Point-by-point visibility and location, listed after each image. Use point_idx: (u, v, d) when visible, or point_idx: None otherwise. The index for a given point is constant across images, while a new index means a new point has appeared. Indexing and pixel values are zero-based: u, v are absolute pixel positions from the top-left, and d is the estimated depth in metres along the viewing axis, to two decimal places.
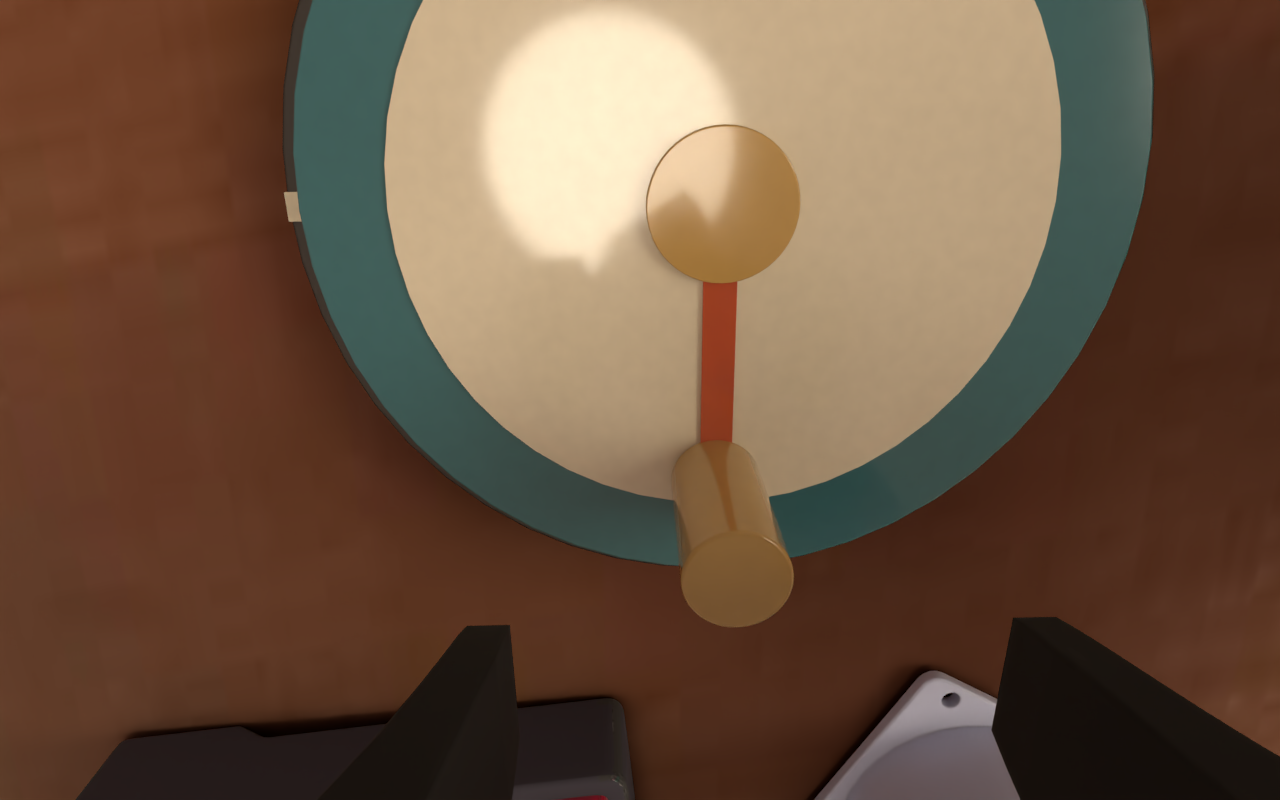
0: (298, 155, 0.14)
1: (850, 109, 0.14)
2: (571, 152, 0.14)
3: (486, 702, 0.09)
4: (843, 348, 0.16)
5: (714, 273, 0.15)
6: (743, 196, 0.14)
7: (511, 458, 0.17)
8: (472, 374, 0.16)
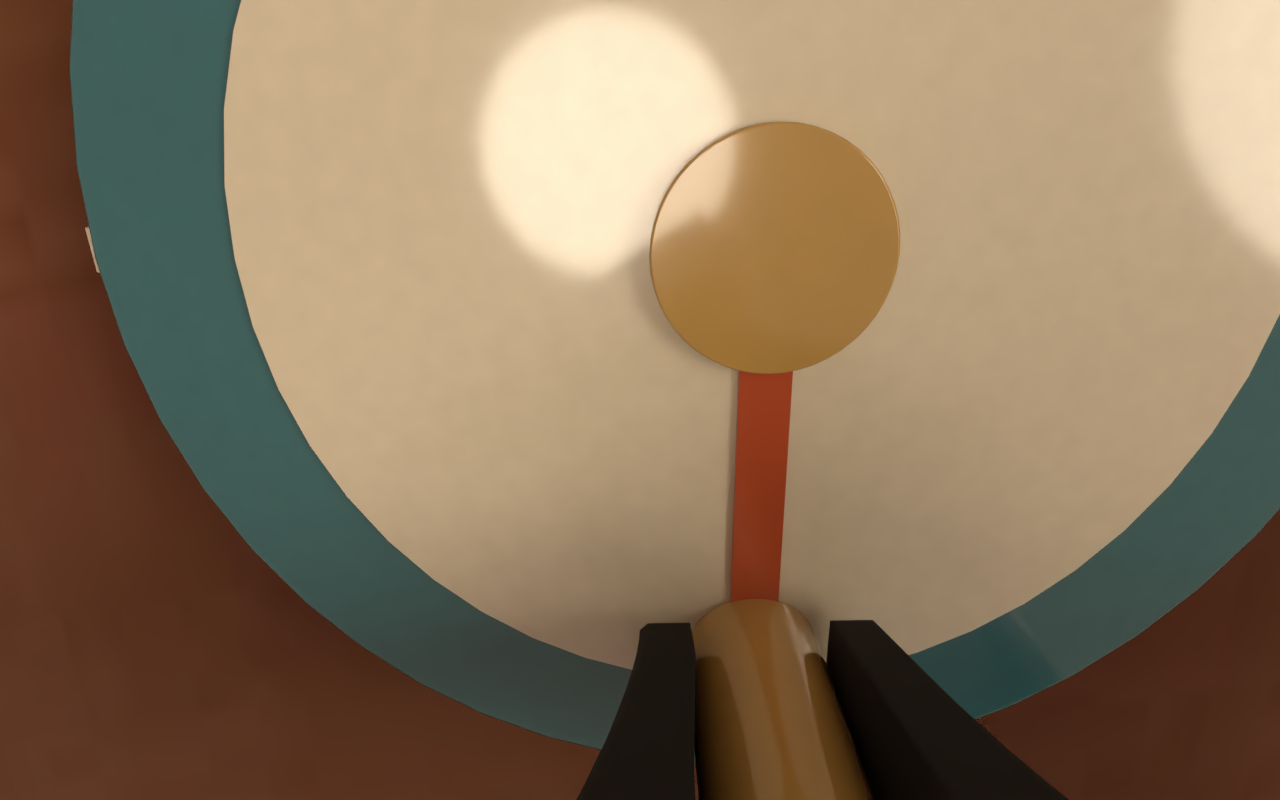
0: (85, 171, 0.09)
1: (984, 99, 0.09)
2: (529, 167, 0.09)
3: None
4: (950, 465, 0.10)
5: (758, 359, 0.09)
6: (808, 239, 0.09)
7: (447, 621, 0.11)
8: (383, 503, 0.10)
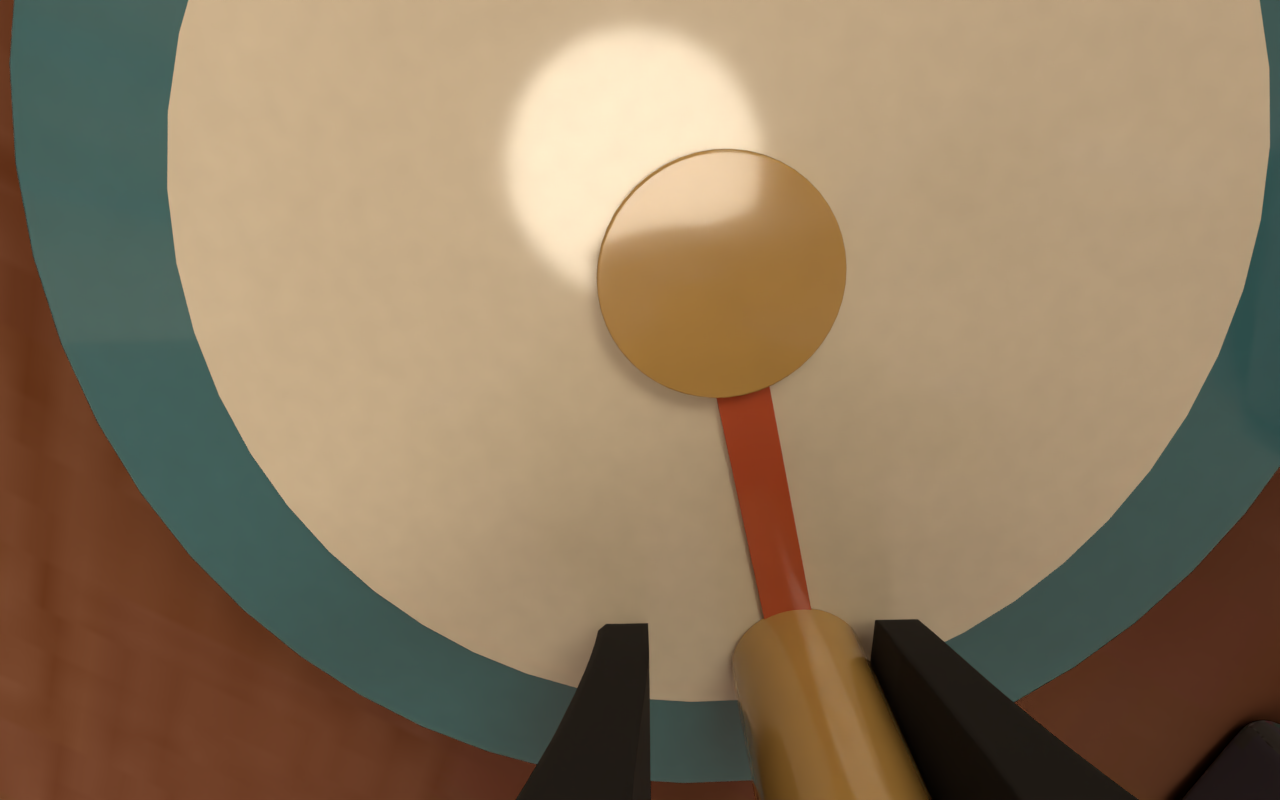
0: (69, 346, 0.09)
1: (896, 79, 0.08)
2: (469, 248, 0.09)
3: (646, 700, 0.09)
4: (953, 442, 0.10)
5: (732, 383, 0.09)
6: (750, 258, 0.09)
7: (497, 687, 0.11)
8: (410, 590, 0.11)
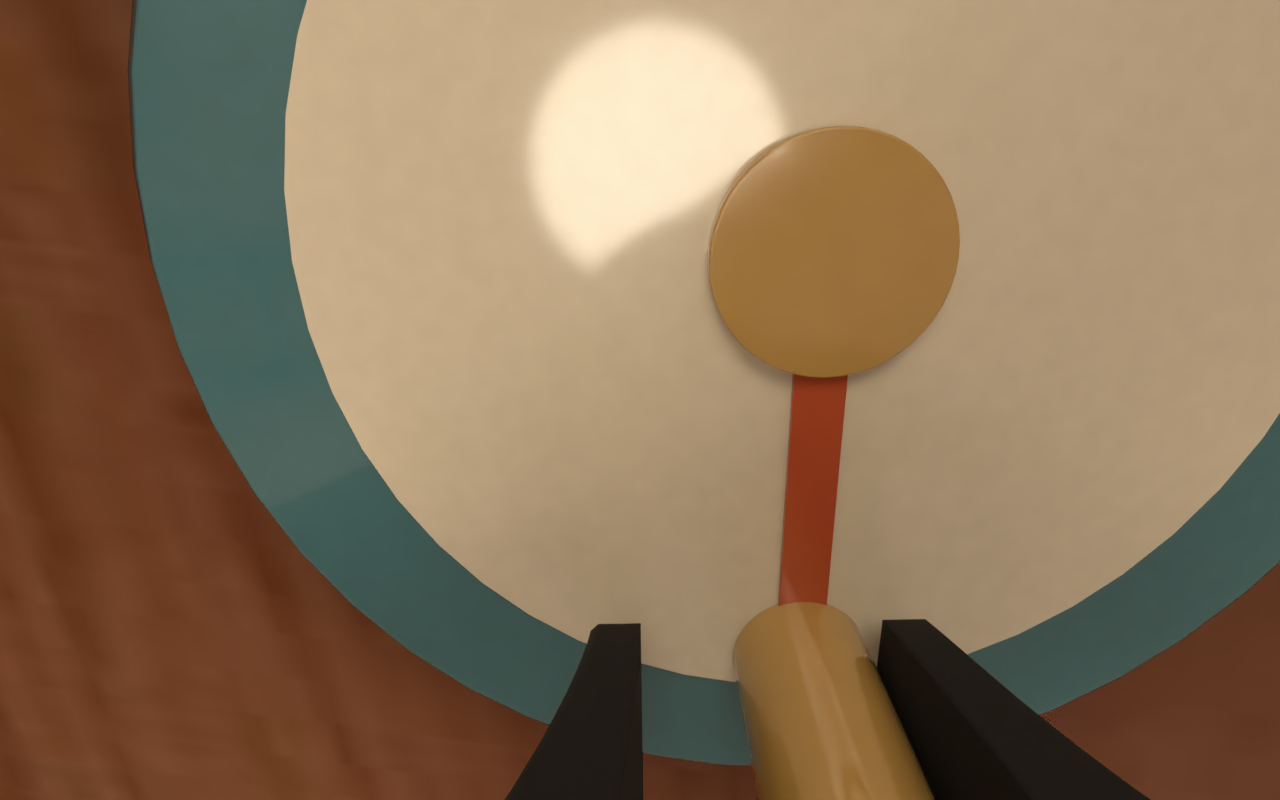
0: (144, 175, 0.09)
1: (1045, 103, 0.09)
2: (589, 171, 0.09)
3: (637, 700, 0.09)
4: (1001, 469, 0.10)
5: (816, 363, 0.09)
6: (868, 243, 0.09)
7: (494, 624, 0.11)
8: (433, 507, 0.10)
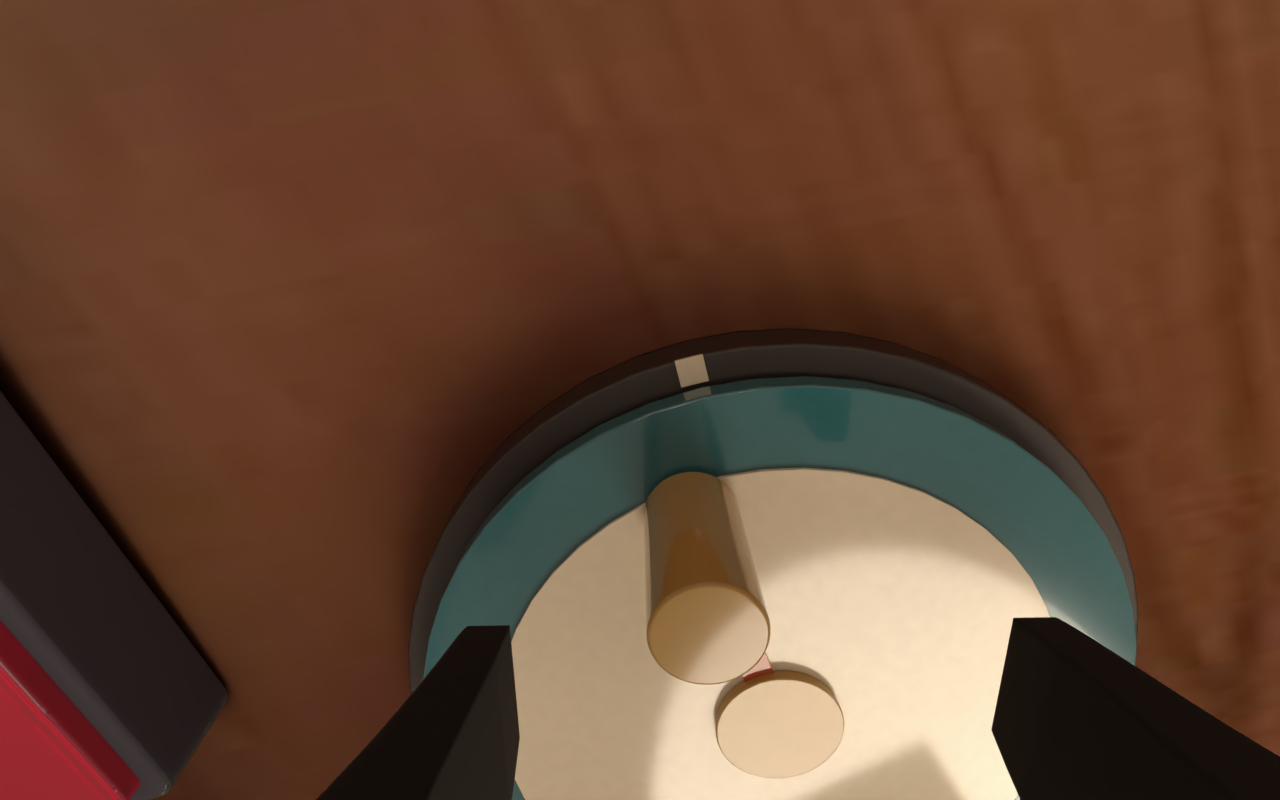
0: (1132, 647, 0.17)
1: (705, 795, 0.18)
2: (906, 713, 0.18)
3: (486, 702, 0.09)
4: (626, 655, 0.17)
5: (768, 687, 0.17)
6: (767, 741, 0.17)
7: (907, 459, 0.15)
8: (961, 528, 0.16)
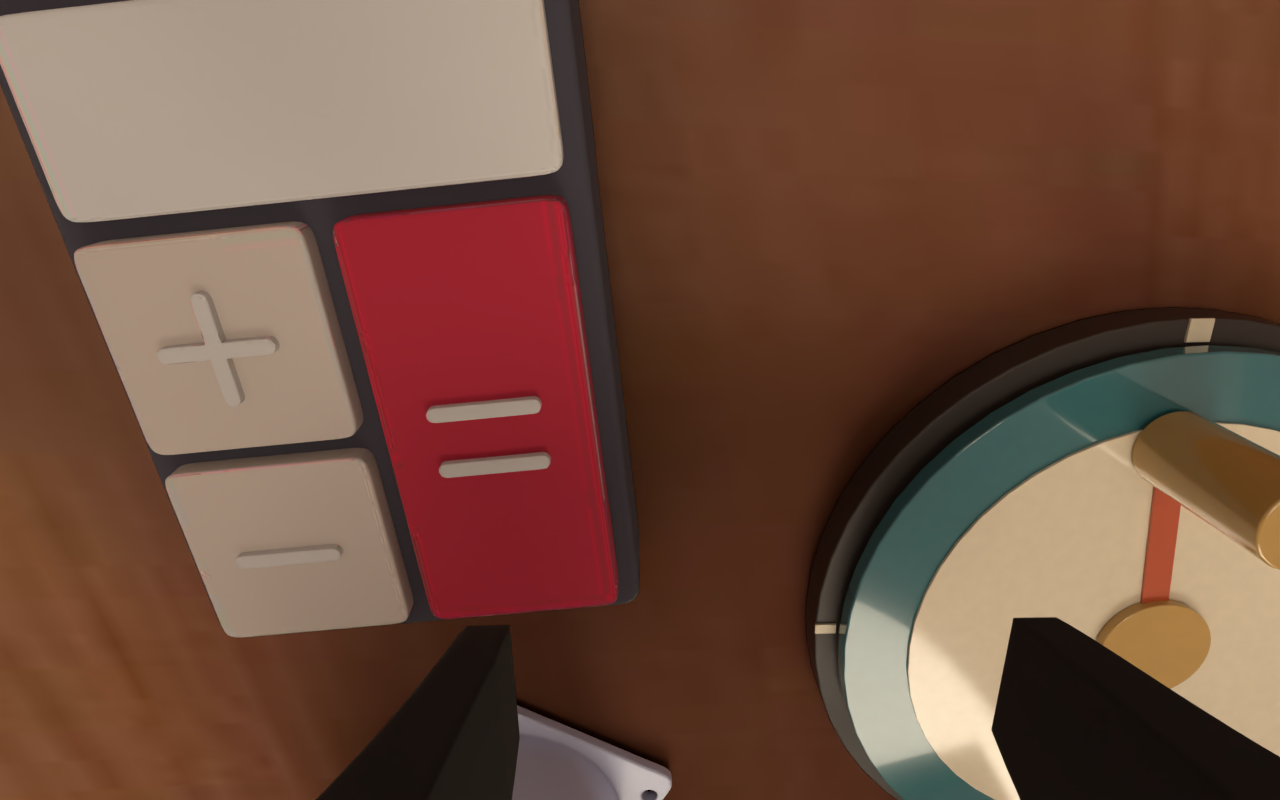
0: None
1: None
2: (1247, 659, 0.21)
3: (486, 702, 0.09)
4: (1053, 561, 0.20)
5: (1165, 611, 0.20)
6: (1140, 658, 0.20)
7: None
8: None
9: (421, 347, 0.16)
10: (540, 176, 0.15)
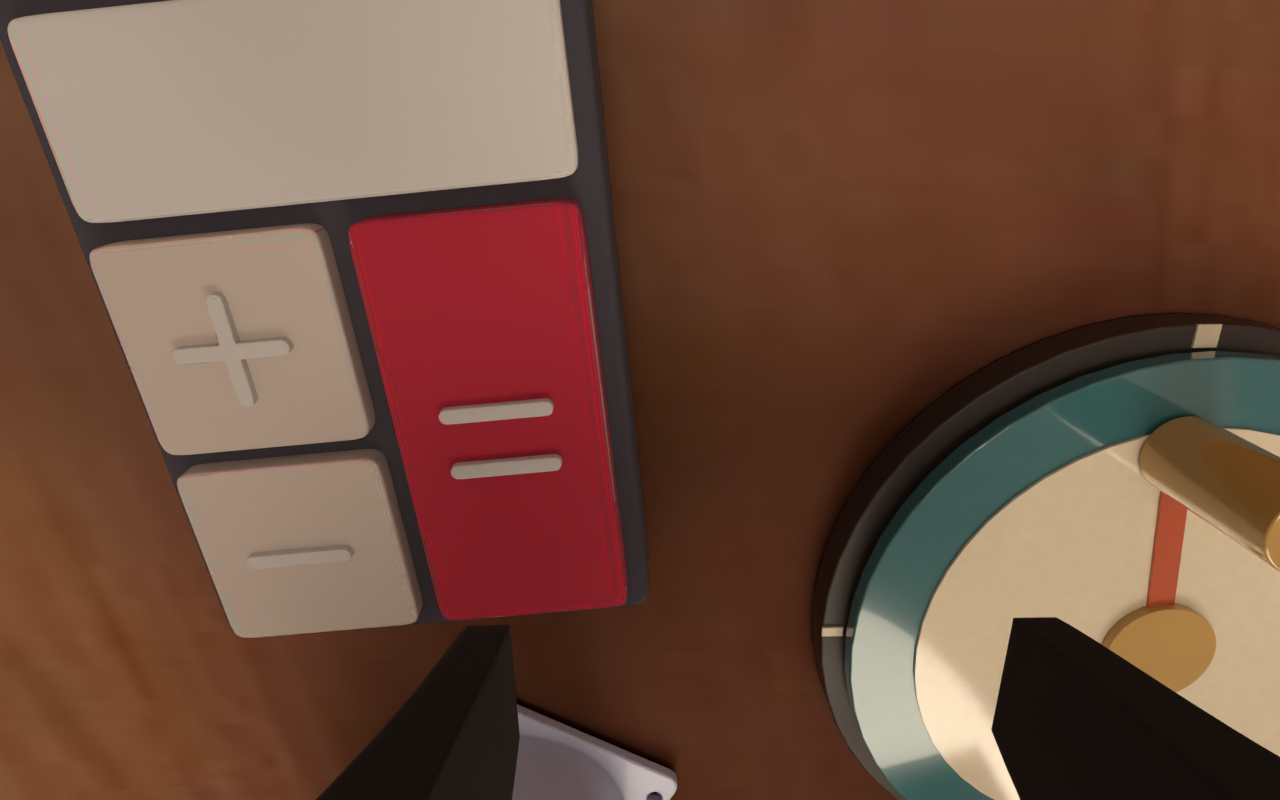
0: None
1: None
2: (1252, 663, 0.21)
3: (486, 702, 0.09)
4: (1060, 565, 0.20)
5: (1170, 615, 0.20)
6: (1146, 662, 0.20)
7: None
8: None
9: (435, 349, 0.16)
10: (555, 179, 0.15)
